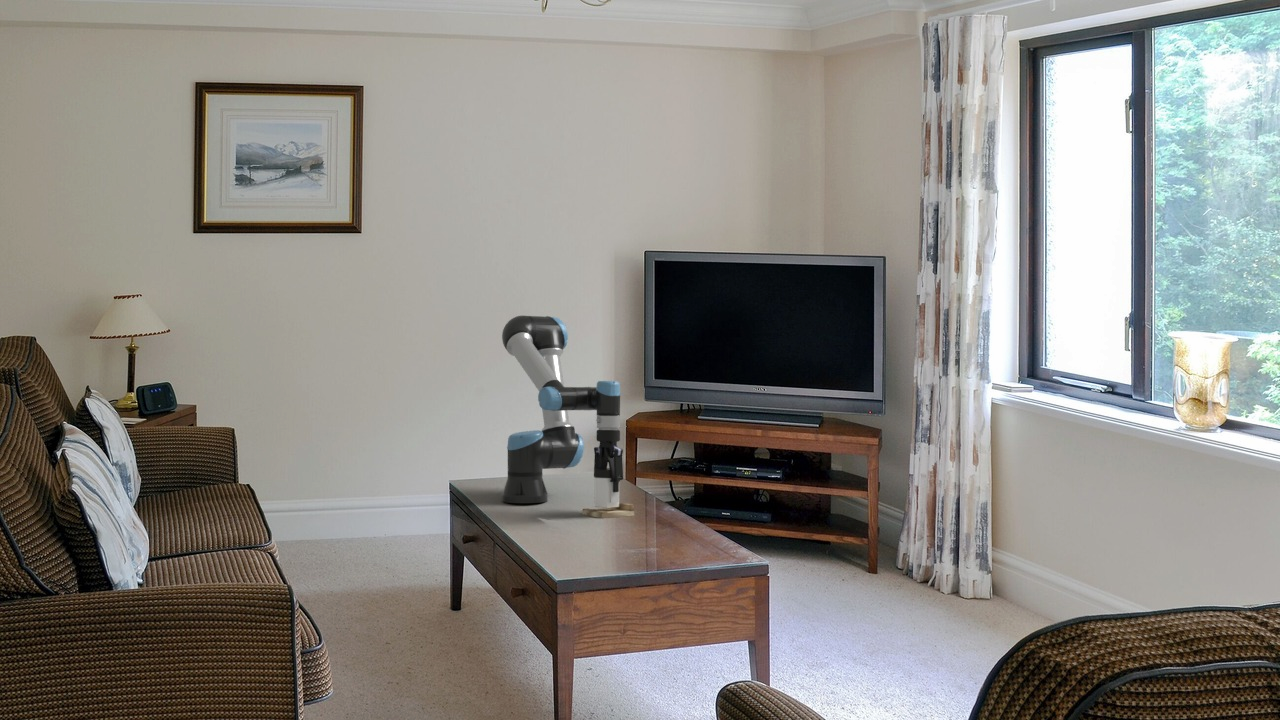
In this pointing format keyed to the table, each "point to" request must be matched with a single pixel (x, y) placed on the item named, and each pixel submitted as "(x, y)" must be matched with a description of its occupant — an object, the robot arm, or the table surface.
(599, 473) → the jar
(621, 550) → the table surface
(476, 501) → the table surface
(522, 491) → the robot arm
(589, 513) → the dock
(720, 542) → the table surface
